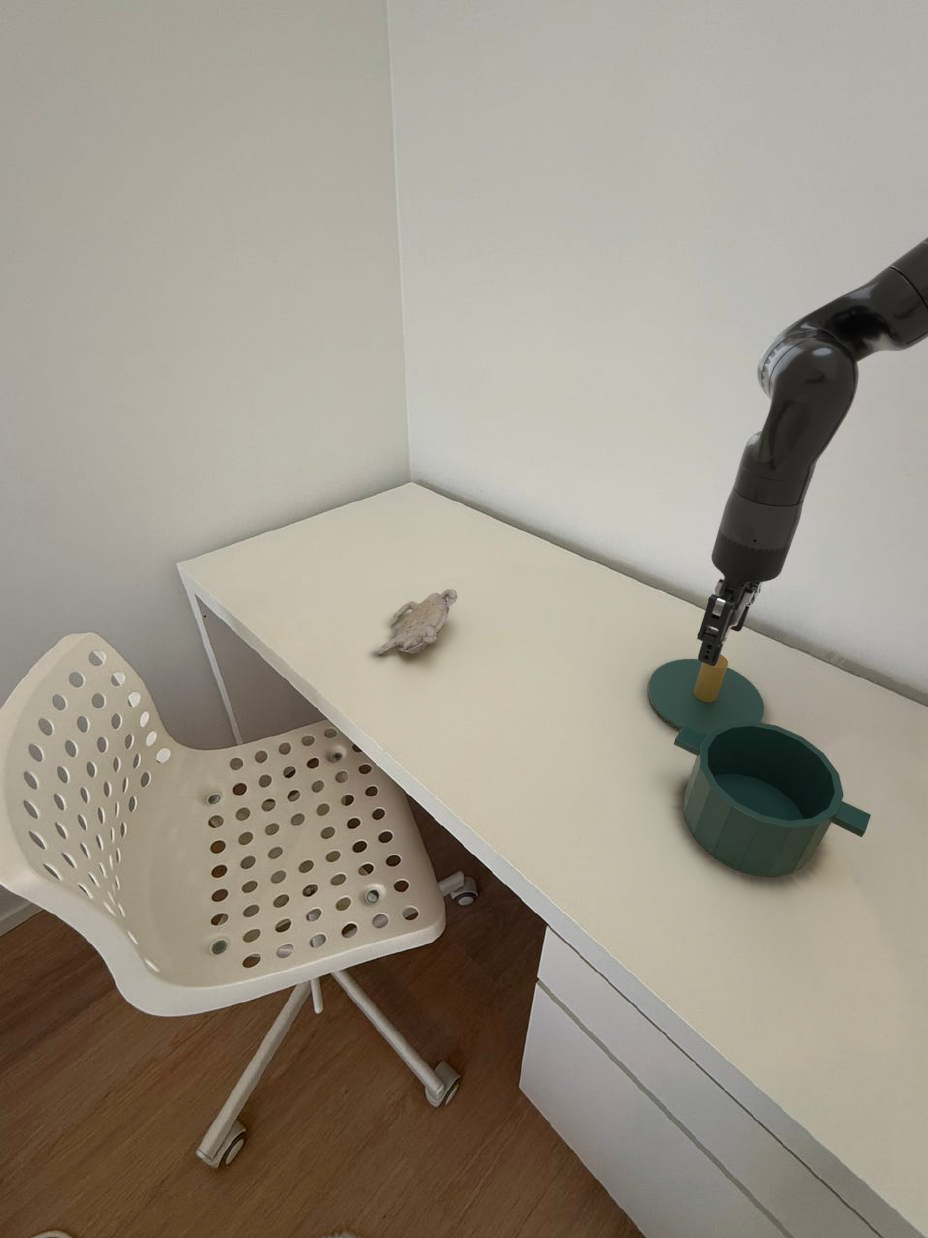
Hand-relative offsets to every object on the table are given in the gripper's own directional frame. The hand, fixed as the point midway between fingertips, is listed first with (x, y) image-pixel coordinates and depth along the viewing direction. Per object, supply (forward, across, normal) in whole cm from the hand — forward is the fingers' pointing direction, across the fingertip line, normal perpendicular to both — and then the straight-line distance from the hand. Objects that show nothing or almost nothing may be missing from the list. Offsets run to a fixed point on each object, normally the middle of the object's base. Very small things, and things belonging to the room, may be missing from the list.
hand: (720, 644), depth 80 cm
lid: (+9, 0, 0) cm, 9 cm away
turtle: (+10, -13, +39) cm, 42 cm away
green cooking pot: (+10, -15, -11) cm, 21 cm away
